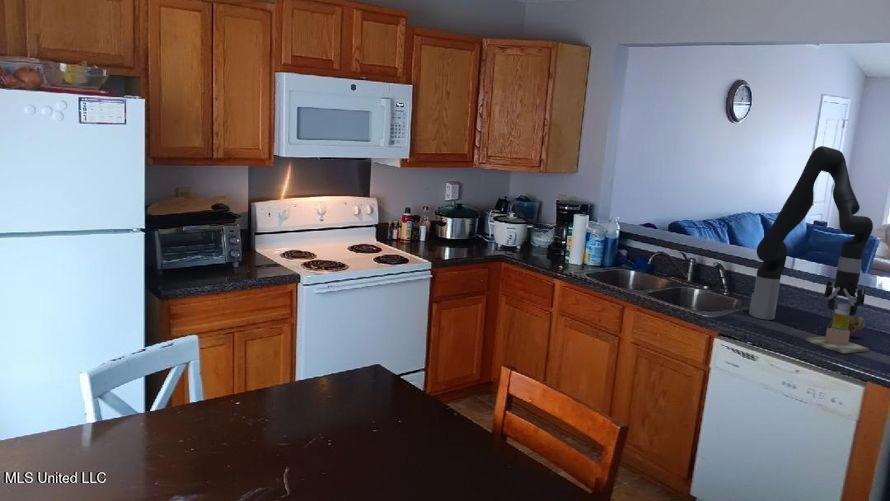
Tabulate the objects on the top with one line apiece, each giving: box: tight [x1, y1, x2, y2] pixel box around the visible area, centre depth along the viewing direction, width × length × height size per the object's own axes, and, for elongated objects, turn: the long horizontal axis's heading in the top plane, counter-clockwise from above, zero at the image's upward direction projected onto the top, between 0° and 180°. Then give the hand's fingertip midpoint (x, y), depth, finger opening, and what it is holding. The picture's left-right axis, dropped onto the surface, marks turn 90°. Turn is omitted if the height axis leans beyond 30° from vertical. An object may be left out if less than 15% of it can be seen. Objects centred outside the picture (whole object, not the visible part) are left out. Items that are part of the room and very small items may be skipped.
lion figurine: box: [823, 316, 866, 339], centre depth 282 cm, size 15×5×9 cm, turn 36°
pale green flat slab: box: [804, 336, 870, 354], centre depth 266 cm, size 16×14×1 cm
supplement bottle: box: [831, 303, 851, 332], centre depth 264 cm, size 5×5×10 cm
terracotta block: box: [825, 327, 850, 345], centre depth 266 cm, size 5×6×5 cm
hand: (841, 312), depth 264 cm, fingers open, 8 cm apart
